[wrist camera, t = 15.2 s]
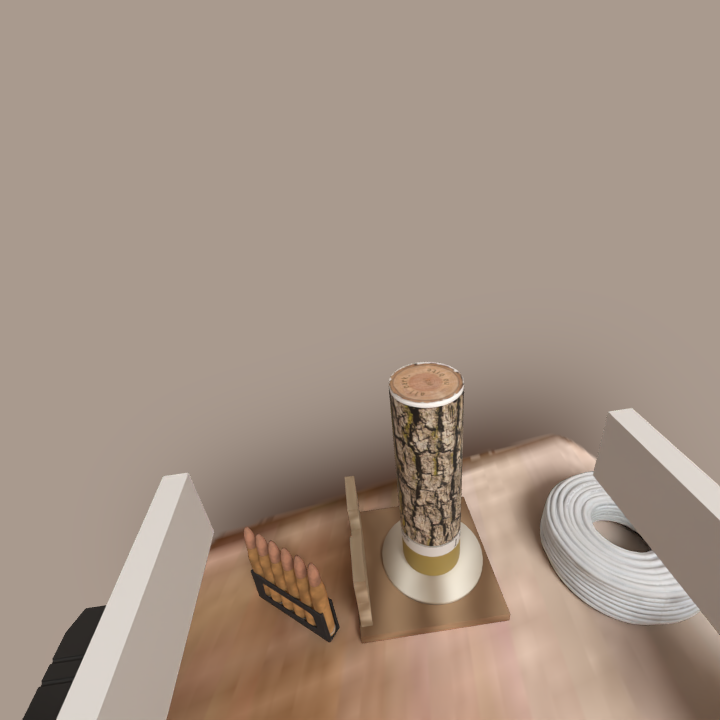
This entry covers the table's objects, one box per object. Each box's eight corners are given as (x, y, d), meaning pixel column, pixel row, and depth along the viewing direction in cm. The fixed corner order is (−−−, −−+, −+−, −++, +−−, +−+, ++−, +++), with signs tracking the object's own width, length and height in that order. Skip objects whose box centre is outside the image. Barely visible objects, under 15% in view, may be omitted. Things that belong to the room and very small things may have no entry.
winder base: (361, 643, 44) (352, 593, 39) (351, 519, 58) (342, 471, 53) (509, 620, 44) (516, 567, 40) (463, 502, 58) (464, 453, 54)
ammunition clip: (340, 627, 46) (324, 559, 40) (330, 643, 44) (312, 576, 38) (269, 582, 51) (245, 517, 45) (258, 595, 50) (233, 530, 44)
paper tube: (413, 586, 47) (401, 410, 34) (396, 536, 53) (380, 370, 40) (469, 570, 48) (477, 393, 35) (446, 523, 53) (446, 356, 41)
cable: (660, 498, 56) (673, 465, 53) (750, 638, 41) (774, 603, 38) (525, 495, 58) (529, 464, 55) (562, 626, 43) (570, 593, 40)
